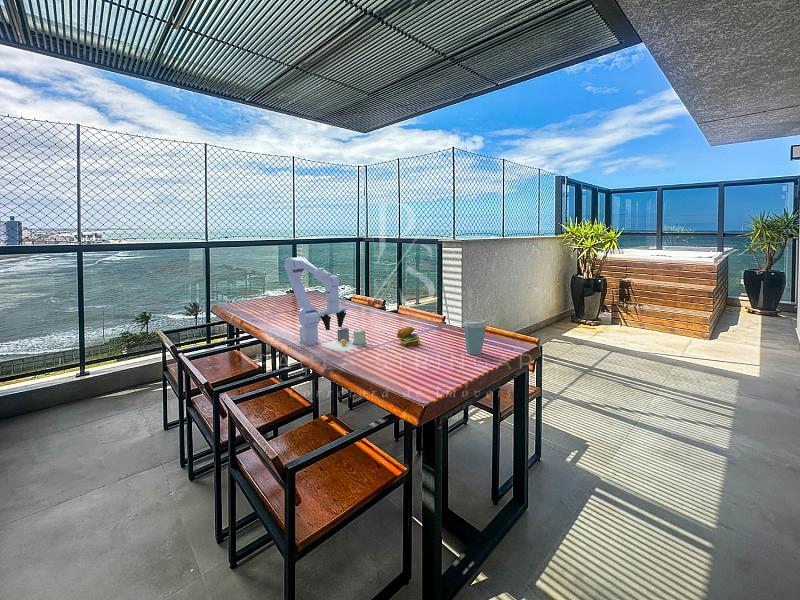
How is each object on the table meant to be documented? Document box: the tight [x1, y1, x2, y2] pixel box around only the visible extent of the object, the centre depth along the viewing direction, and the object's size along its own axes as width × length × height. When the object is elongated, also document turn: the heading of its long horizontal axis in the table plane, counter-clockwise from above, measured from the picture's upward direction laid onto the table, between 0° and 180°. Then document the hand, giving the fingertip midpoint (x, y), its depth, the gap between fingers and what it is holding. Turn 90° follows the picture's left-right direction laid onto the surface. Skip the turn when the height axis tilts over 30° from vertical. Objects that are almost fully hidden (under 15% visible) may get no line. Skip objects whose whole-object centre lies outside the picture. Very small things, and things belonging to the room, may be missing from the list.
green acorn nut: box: [353, 329, 367, 345], centre depth 186 cm, size 6×6×6 cm
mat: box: [317, 337, 371, 353], centre depth 186 cm, size 18×19×1 cm
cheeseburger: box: [396, 325, 421, 347], centre depth 186 cm, size 10×11×10 cm
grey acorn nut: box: [336, 327, 350, 342], centre depth 193 cm, size 6×6×6 cm
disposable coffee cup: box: [462, 319, 487, 355], centre depth 170 cm, size 11×11×15 cm
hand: (334, 328), depth 181 cm, fingers open, 7 cm apart
